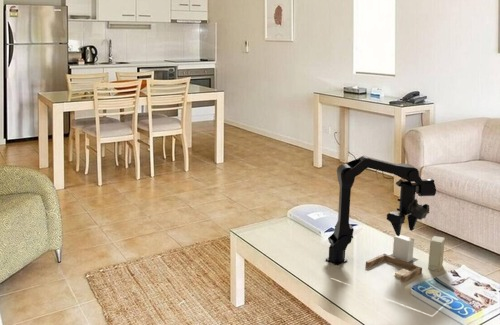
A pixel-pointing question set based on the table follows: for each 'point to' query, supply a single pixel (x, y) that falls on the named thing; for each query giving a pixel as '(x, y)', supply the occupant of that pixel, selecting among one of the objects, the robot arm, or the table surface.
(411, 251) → the off-white upright block
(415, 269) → the frame
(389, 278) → the table surface
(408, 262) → the felt pad
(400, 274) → the offcut slab upper
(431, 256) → the skincare box
